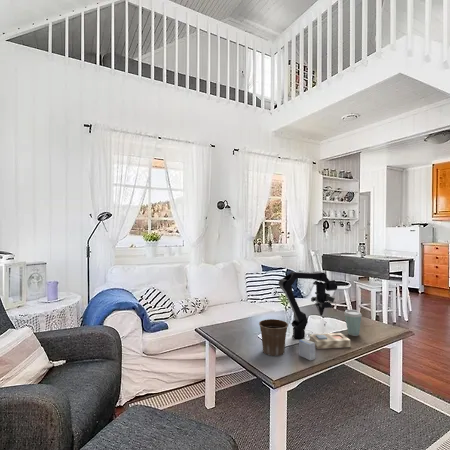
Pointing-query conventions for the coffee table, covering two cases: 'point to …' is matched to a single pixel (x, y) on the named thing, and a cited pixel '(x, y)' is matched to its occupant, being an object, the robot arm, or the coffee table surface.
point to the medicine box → (307, 349)
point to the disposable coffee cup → (353, 321)
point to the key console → (330, 341)
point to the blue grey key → (321, 337)
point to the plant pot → (273, 336)
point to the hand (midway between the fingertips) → (321, 315)
